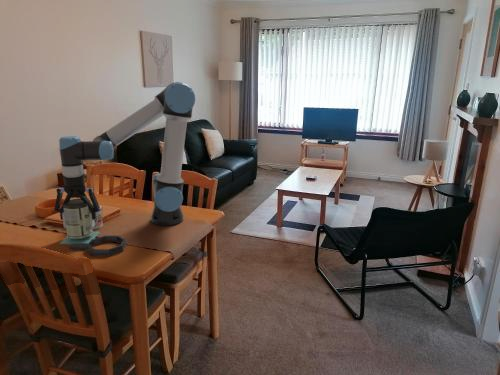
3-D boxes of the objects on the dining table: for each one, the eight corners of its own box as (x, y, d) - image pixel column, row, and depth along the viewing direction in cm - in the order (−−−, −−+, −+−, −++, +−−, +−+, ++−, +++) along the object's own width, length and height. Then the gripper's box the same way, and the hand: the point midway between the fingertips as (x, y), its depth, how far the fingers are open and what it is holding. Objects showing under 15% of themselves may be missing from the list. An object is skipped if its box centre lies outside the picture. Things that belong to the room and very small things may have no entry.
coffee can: (72, 229, 156) (68, 198, 152) (96, 229, 156) (93, 198, 153) (62, 239, 146) (58, 206, 142) (88, 238, 147) (85, 206, 143)
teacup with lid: (95, 231, 159) (92, 206, 155) (77, 229, 160) (74, 204, 157) (111, 222, 170) (109, 198, 167) (94, 220, 172) (91, 196, 168)
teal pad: (100, 232, 158) (99, 231, 158) (90, 244, 146) (90, 243, 146) (71, 232, 157) (71, 231, 157) (59, 244, 145) (59, 243, 145)
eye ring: (128, 241, 150) (128, 235, 149) (119, 255, 137) (119, 250, 136) (77, 241, 149) (77, 235, 148) (63, 256, 136) (62, 250, 135)
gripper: (105, 173, 148) (110, 223, 155) (48, 172, 147) (55, 223, 153) (99, 177, 141) (104, 230, 147) (39, 177, 140) (47, 230, 146)
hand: (79, 226), depth 150 cm, fingers closed on coffee can, 10 cm apart
